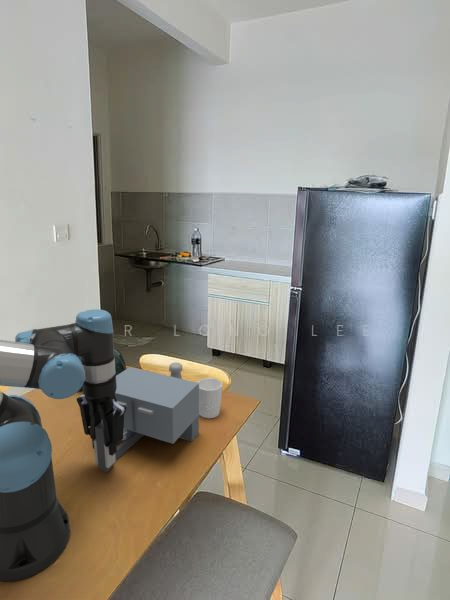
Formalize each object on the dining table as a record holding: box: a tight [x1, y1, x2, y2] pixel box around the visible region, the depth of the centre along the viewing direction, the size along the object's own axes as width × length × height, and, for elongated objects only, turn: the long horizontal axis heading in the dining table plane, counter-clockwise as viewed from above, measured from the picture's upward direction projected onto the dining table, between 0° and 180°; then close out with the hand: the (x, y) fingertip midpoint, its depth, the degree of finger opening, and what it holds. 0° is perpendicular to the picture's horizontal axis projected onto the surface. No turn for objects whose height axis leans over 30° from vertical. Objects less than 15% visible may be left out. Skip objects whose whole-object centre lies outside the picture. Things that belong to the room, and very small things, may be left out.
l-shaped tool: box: [95, 421, 145, 473], centre depth 99 cm, size 18×2×12 cm, turn 155°
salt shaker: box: [168, 361, 183, 379], centre depth 123 cm, size 6×6×13 cm
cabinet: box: [101, 366, 200, 444], centre depth 103 cm, size 15×23×16 cm, turn 67°
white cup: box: [196, 377, 223, 419], centre depth 117 cm, size 8×8×10 cm
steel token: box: [120, 429, 134, 442], centre depth 106 cm, size 6×6×1 cm
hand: (105, 462), depth 93 cm, fingers closed on l-shaped tool, 2 cm apart
